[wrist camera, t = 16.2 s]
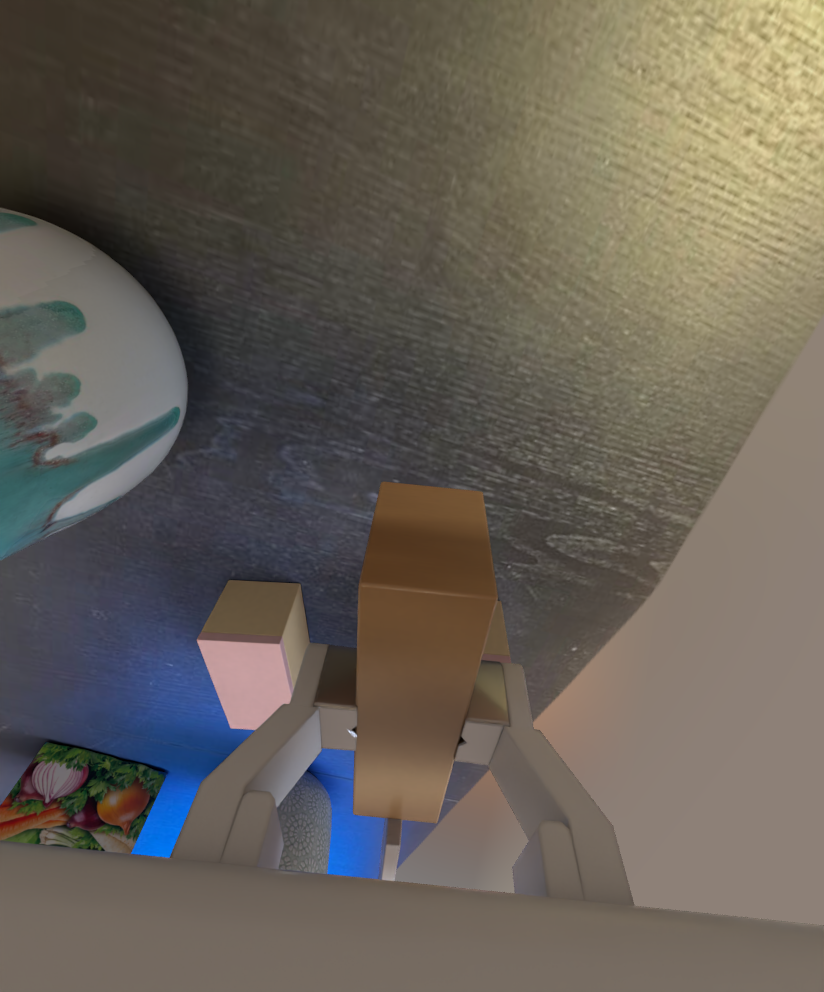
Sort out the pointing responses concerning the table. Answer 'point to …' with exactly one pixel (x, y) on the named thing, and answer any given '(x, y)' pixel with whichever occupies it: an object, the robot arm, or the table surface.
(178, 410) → the vase
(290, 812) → the planter
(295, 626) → the cake slice
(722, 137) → the table surface
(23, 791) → the blue food package
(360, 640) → the knife
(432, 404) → the table surface
